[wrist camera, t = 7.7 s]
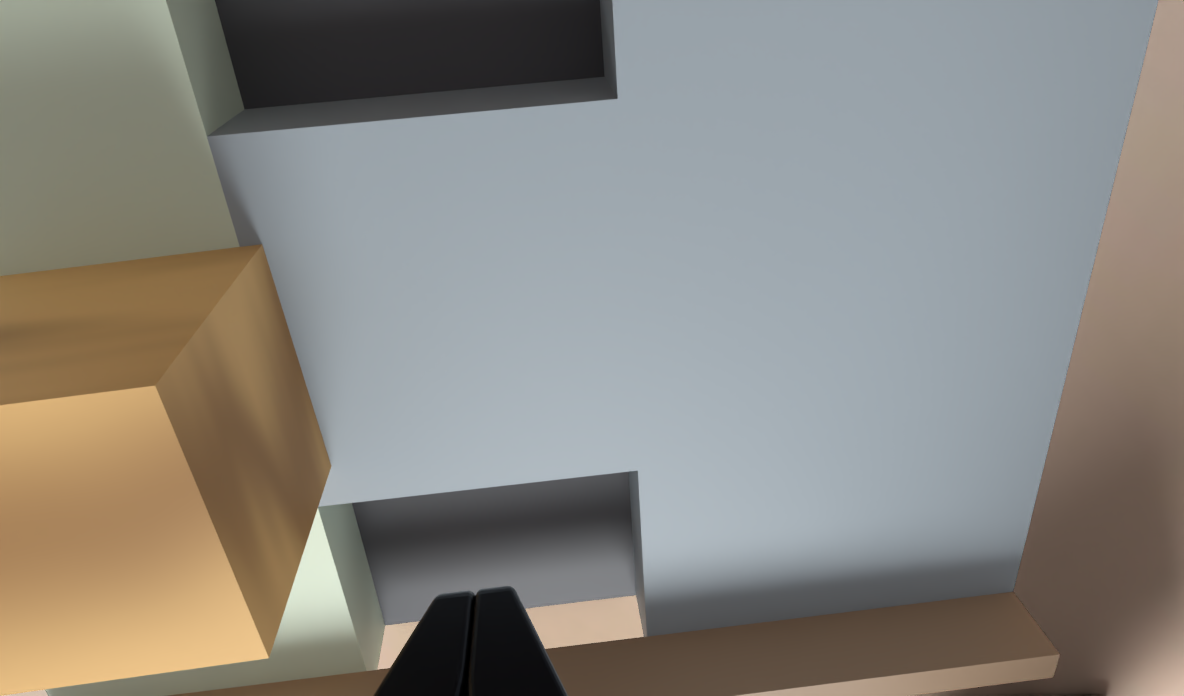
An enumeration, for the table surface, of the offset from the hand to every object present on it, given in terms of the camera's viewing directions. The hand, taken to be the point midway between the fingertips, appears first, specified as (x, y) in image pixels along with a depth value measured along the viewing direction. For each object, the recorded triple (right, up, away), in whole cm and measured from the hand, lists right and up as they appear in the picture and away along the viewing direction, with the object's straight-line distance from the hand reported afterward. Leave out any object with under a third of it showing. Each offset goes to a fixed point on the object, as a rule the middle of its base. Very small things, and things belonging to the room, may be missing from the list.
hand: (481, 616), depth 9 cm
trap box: (-1, +5, +9) cm, 10 cm away
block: (-7, +2, +7) cm, 10 cm away
